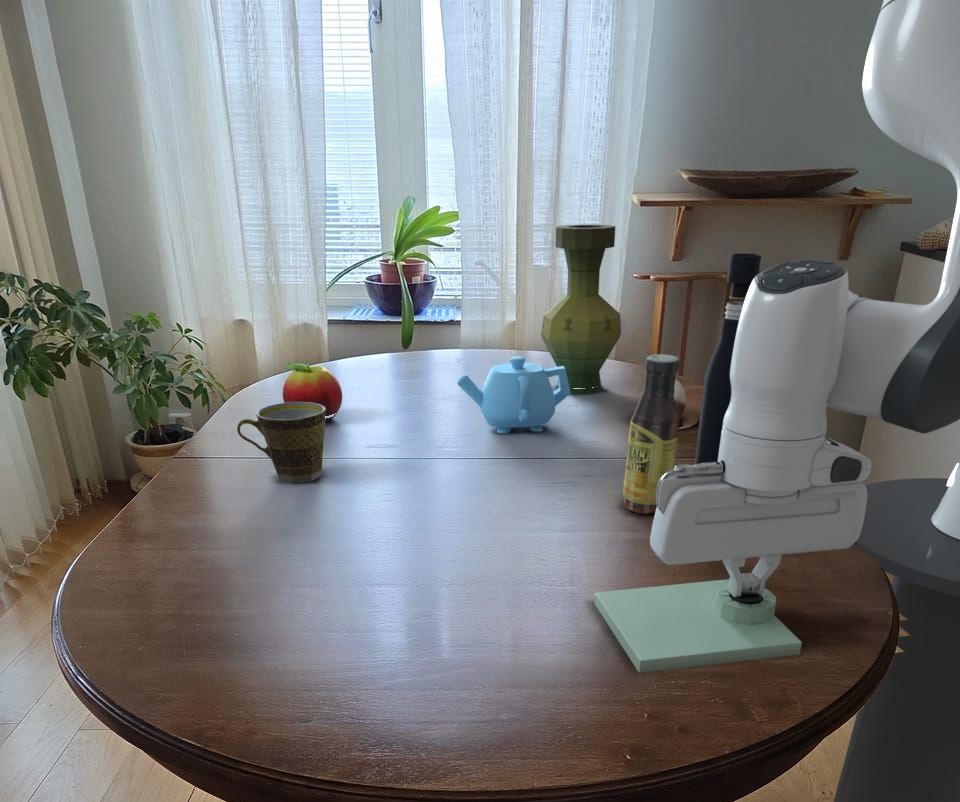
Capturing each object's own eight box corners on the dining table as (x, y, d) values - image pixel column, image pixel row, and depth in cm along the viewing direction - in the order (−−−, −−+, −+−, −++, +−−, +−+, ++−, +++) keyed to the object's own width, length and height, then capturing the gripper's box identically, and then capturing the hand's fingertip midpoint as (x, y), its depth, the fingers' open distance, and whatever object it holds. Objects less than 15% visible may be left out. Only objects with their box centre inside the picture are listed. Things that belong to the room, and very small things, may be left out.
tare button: (751, 599, 83) (753, 586, 83) (764, 612, 81) (766, 598, 80) (725, 602, 83) (727, 588, 82) (737, 615, 81) (739, 601, 80)
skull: (621, 405, 152) (662, 363, 148) (659, 442, 155) (700, 402, 151) (627, 421, 141) (672, 375, 137) (668, 460, 144) (713, 417, 140)
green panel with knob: (737, 589, 89) (741, 564, 88) (803, 654, 77) (809, 627, 76) (594, 604, 87) (595, 578, 85) (639, 673, 75) (641, 645, 74)
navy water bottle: (711, 468, 124) (740, 251, 109) (746, 479, 119) (782, 254, 104) (683, 477, 121) (709, 254, 105) (718, 489, 116) (751, 258, 101)
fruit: (322, 430, 145) (315, 372, 140) (273, 423, 149) (265, 367, 144) (355, 415, 154) (350, 360, 149) (308, 409, 158) (302, 356, 153)
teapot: (559, 411, 154) (561, 345, 148) (579, 436, 139) (582, 365, 133) (453, 416, 152) (451, 350, 146) (463, 442, 137) (461, 370, 131)
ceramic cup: (327, 462, 130) (319, 399, 125) (338, 482, 121) (330, 415, 116) (243, 472, 126) (232, 407, 121) (249, 493, 118) (237, 425, 113)
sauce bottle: (614, 503, 112) (624, 353, 102) (654, 497, 114) (668, 349, 104) (637, 520, 107) (650, 364, 97) (679, 513, 109) (696, 359, 98)
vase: (583, 375, 178) (590, 222, 163) (634, 389, 167) (647, 226, 152) (523, 387, 170) (525, 226, 155) (573, 402, 159) (580, 231, 144)
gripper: (673, 477, 70) (657, 618, 77) (889, 461, 73) (855, 598, 80) (647, 455, 75) (634, 588, 82) (849, 441, 78) (821, 571, 85)
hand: (745, 593), depth 81 cm, fingers closed, pressing on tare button
